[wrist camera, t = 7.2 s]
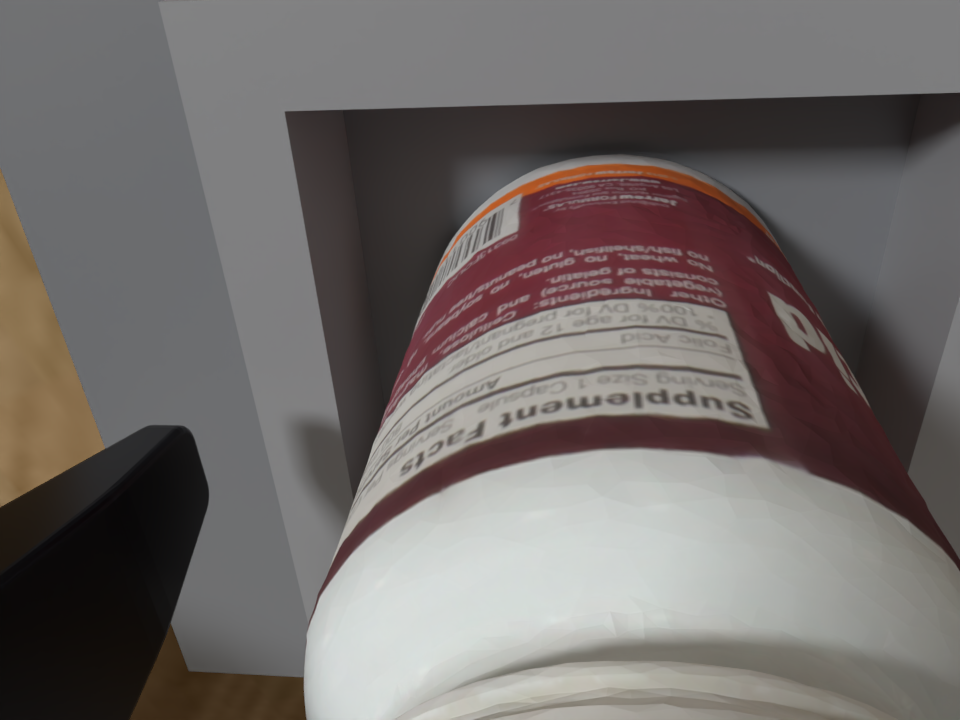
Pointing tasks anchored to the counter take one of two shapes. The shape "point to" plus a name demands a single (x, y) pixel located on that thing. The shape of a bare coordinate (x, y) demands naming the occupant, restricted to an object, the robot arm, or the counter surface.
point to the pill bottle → (630, 485)
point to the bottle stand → (440, 219)
